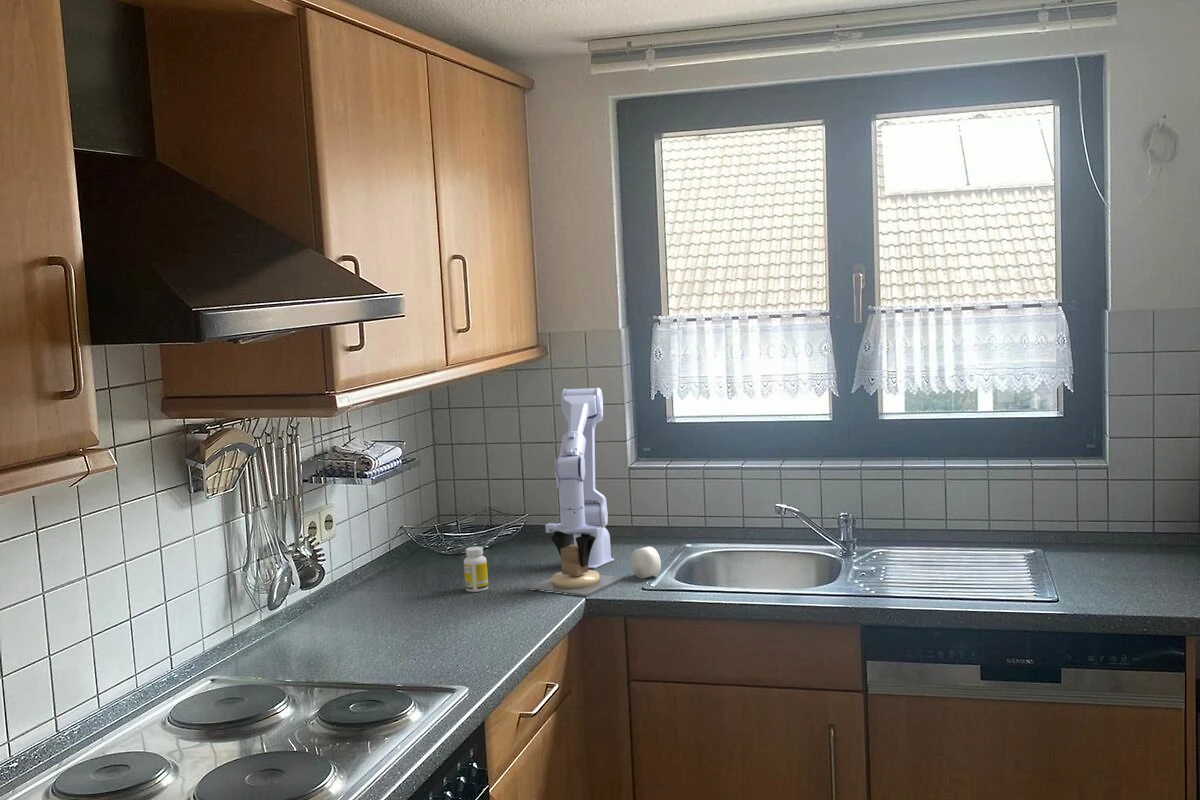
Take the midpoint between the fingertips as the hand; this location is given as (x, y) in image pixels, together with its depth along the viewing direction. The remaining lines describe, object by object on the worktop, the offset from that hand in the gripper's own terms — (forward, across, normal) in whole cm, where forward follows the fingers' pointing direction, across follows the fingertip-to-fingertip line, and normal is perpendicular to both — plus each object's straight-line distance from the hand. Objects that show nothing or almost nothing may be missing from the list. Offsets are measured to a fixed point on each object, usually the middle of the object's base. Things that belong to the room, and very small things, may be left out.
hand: (575, 564), depth 274 cm
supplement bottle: (+5, -20, -12) cm, 24 cm away
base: (+5, 0, 0) cm, 5 cm away
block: (+2, 0, 0) cm, 2 cm away
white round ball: (+1, +11, +11) cm, 16 cm away
